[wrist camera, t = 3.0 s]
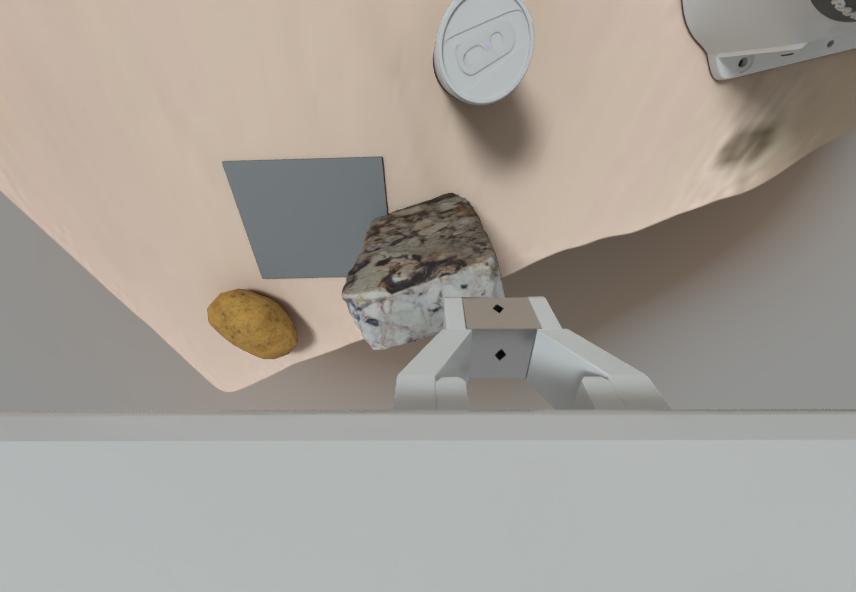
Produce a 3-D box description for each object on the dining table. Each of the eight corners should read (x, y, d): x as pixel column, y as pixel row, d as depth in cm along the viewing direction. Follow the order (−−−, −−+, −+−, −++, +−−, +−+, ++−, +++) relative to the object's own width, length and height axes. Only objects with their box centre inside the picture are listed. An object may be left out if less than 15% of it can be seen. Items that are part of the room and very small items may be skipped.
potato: (248, 266, 47) (223, 291, 41) (316, 321, 53) (303, 351, 47) (212, 299, 50) (184, 327, 44) (280, 348, 56) (263, 379, 50)
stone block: (388, 260, 46) (373, 362, 29) (364, 216, 43) (332, 303, 26) (478, 225, 44) (518, 314, 27) (461, 175, 40) (495, 242, 23)
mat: (381, 156, 39) (381, 157, 39) (393, 274, 48) (393, 275, 47) (223, 161, 39) (221, 161, 39) (263, 277, 48) (262, 278, 48)
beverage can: (421, 44, 33) (417, 21, 21) (481, 3, 32) (516, -48, 19) (450, 109, 36) (461, 124, 24) (505, 76, 35) (549, 73, 22)
